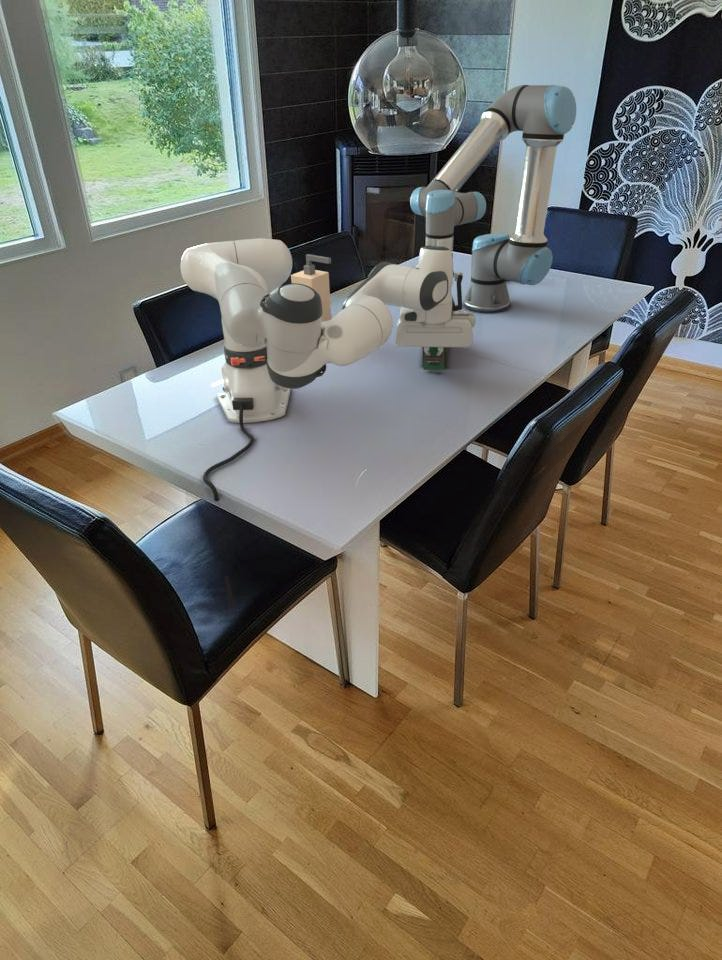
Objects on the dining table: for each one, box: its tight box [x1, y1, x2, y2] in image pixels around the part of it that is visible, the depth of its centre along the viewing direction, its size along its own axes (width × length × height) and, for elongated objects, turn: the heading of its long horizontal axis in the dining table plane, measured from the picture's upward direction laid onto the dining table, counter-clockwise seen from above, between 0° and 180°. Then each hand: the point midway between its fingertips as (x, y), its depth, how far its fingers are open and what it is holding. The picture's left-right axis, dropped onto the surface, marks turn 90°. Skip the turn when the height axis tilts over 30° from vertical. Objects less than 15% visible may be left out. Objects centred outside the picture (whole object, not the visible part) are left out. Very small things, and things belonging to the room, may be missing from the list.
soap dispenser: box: [290, 253, 332, 322], centre depth 211 cm, size 13×9×22 cm
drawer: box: [423, 347, 445, 371], centre depth 185 cm, size 23×6×9 cm, turn 173°
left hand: (433, 361), depth 178 cm, fingers closed, pressing on drawer
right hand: (436, 332), depth 195 cm, fingers closed on cabinet, 7 cm apart
